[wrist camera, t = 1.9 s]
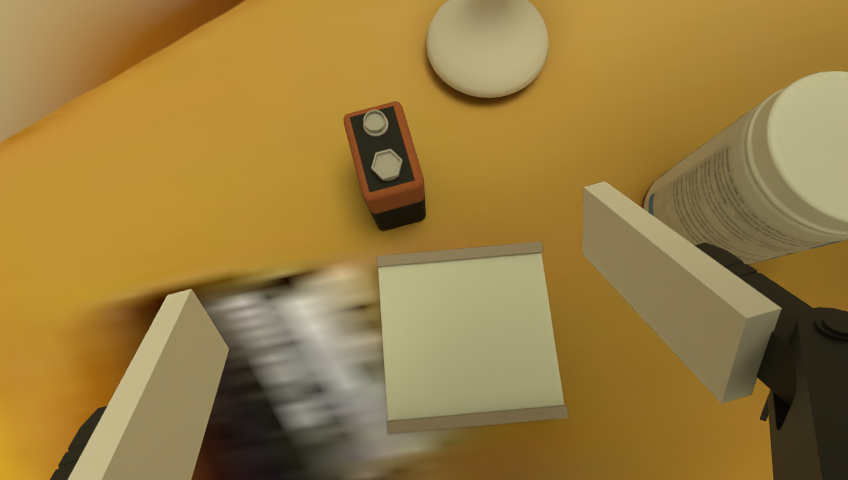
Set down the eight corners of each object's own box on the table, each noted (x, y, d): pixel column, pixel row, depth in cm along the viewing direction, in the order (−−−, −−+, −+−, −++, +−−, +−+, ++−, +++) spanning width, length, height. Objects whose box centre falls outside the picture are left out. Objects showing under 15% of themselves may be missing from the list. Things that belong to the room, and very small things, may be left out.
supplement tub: (728, 293, 36) (926, 264, 22) (621, 243, 37) (742, 184, 23) (763, 195, 38) (967, 108, 23) (661, 150, 39) (795, 41, 24)
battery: (379, 233, 38) (361, 196, 28) (361, 163, 39) (337, 106, 29) (427, 220, 38) (425, 179, 28) (407, 151, 39) (398, 90, 29)
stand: (531, 250, 37) (541, 241, 33) (554, 409, 34) (568, 417, 31) (381, 263, 37) (376, 256, 33) (392, 424, 34) (387, 434, 30)
